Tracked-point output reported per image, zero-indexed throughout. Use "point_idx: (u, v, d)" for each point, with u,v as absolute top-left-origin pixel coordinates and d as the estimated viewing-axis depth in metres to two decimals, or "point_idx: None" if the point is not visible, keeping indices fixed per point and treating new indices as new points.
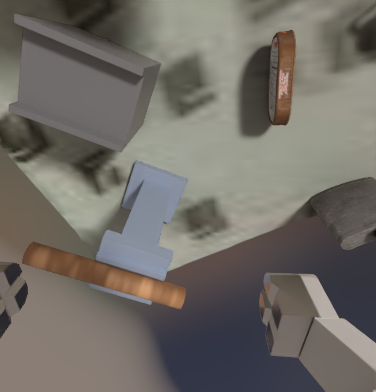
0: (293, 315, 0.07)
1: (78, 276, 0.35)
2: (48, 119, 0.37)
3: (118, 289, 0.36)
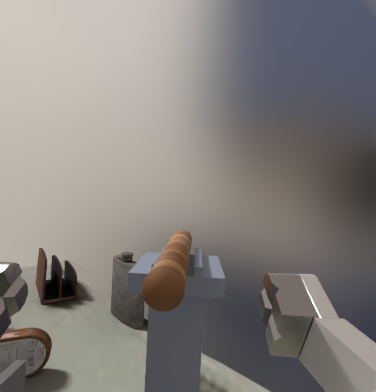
0: (293, 315, 0.07)
1: (170, 249, 0.26)
2: None
3: (177, 239, 0.31)
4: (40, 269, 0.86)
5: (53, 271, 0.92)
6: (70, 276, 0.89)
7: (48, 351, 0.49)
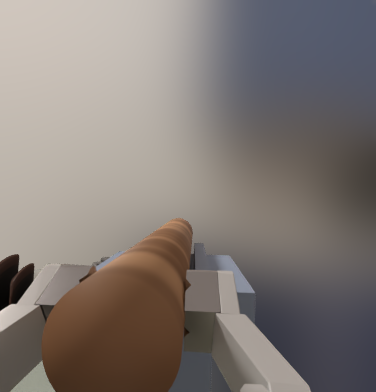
0: (195, 311, 0.07)
1: (158, 235, 0.13)
2: None
3: (173, 226, 0.18)
4: None
5: None
6: None
7: None
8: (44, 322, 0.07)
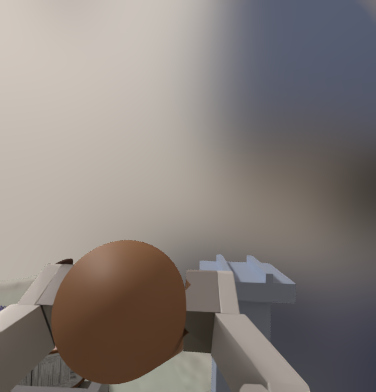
0: (195, 311, 0.07)
1: None
2: None
3: None
4: None
5: None
6: None
7: None
8: (44, 322, 0.07)
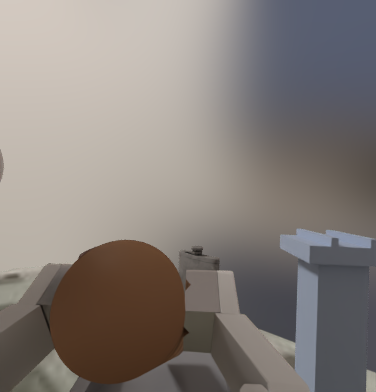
0: (195, 311, 0.07)
1: None
2: None
3: None
4: None
5: None
6: None
7: None
8: (44, 322, 0.07)
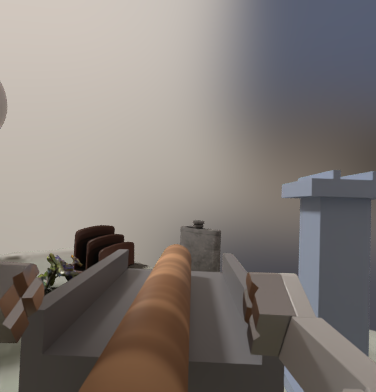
0: (270, 314, 0.07)
1: (158, 296, 0.12)
2: (244, 284, 0.17)
3: (173, 267, 0.17)
4: None
5: None
6: None
7: None
8: None
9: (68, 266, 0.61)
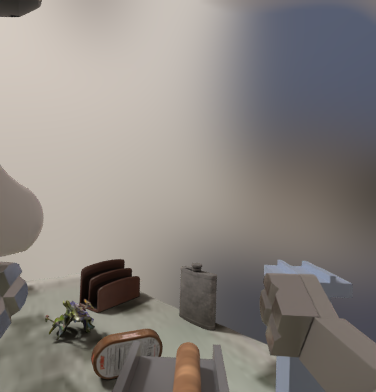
0: (293, 315, 0.07)
1: None
2: None
3: None
4: None
5: None
6: None
7: (161, 348, 0.59)
8: None
9: (82, 312, 0.70)
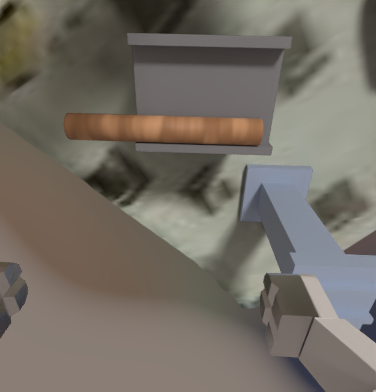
0: (293, 315, 0.07)
1: None
2: (180, 145, 0.31)
3: None
4: None
5: None
6: None
7: None
8: None
9: None
